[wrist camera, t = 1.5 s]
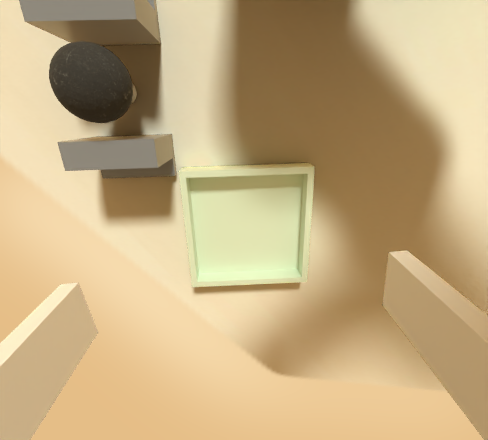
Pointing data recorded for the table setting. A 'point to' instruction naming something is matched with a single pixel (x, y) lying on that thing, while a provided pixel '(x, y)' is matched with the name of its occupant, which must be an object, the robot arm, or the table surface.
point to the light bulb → (91, 82)
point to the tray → (247, 223)
